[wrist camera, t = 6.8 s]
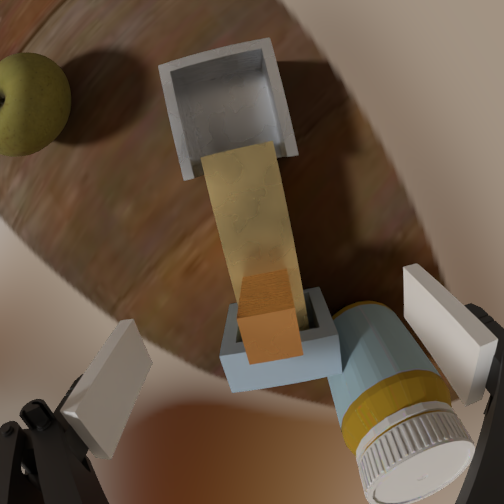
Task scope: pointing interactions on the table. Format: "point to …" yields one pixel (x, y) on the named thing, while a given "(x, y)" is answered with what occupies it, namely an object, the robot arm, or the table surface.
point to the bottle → (394, 409)
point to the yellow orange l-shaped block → (258, 250)
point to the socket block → (290, 369)
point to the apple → (31, 103)
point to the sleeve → (226, 103)
